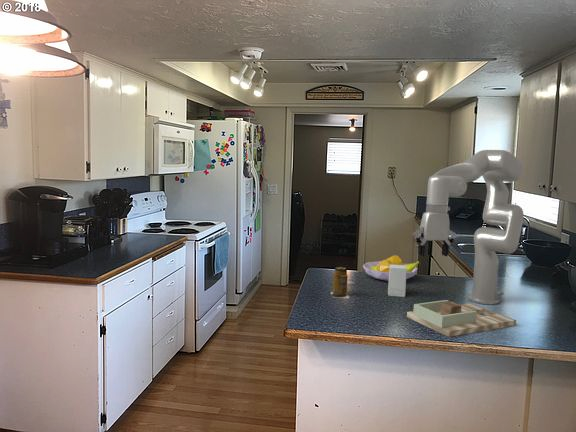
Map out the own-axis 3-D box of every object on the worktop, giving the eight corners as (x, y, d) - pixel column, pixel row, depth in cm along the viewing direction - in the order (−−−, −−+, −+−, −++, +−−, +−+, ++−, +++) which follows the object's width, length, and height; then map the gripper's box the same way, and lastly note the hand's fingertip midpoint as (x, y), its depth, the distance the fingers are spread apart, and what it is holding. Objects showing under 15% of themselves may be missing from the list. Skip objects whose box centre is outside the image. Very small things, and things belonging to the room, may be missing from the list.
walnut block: (450, 314, 182) (451, 301, 182) (460, 318, 178) (461, 305, 177) (440, 316, 180) (441, 303, 180) (450, 320, 176) (451, 307, 175)
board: (469, 308, 198) (470, 303, 198) (515, 325, 178) (516, 320, 178) (406, 317, 184) (407, 311, 184) (448, 337, 165) (449, 331, 164)
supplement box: (405, 297, 211) (407, 268, 210) (387, 295, 213) (389, 267, 211) (404, 292, 218) (406, 265, 217) (387, 291, 220) (389, 263, 218)
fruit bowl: (351, 275, 249) (352, 253, 247) (392, 270, 262) (393, 249, 261) (388, 288, 225) (389, 264, 223) (431, 282, 238) (432, 259, 236)
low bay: (446, 310, 188) (446, 299, 187) (476, 322, 174) (477, 311, 174) (413, 314, 181) (413, 304, 181) (441, 327, 168) (442, 316, 167)
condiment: (346, 293, 215) (347, 266, 214) (349, 298, 207) (350, 270, 206) (330, 292, 215) (331, 266, 214) (332, 298, 207) (333, 270, 205)
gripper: (451, 209, 185) (448, 253, 186) (410, 208, 180) (406, 253, 182) (463, 211, 177) (459, 257, 179) (420, 210, 173) (416, 257, 175)
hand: (432, 255), depth 181 cm, fingers open, 9 cm apart
